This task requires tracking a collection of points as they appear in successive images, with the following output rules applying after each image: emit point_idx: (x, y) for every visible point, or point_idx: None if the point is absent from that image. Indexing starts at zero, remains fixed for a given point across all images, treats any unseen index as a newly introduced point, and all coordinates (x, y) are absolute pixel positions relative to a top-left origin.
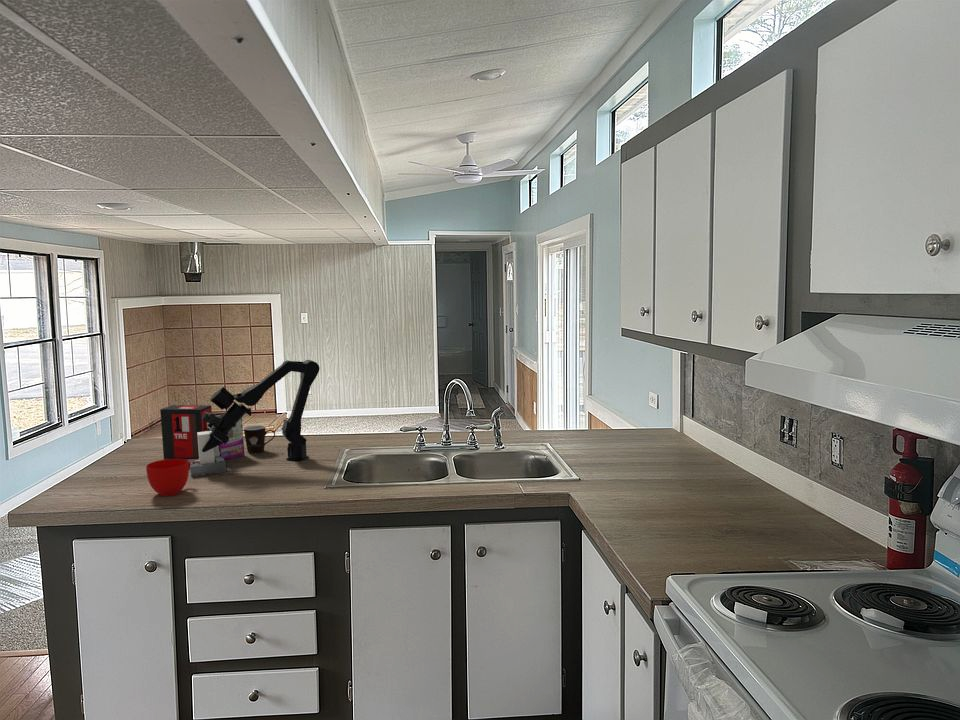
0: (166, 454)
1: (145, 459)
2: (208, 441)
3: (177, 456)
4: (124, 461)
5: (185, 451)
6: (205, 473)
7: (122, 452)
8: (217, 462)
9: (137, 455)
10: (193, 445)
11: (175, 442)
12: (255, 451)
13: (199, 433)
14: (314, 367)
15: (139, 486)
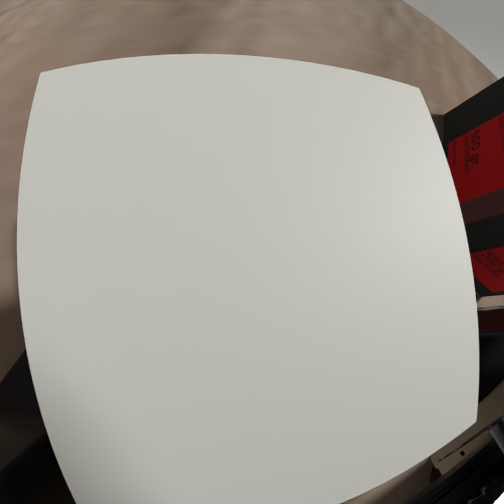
0: (455, 115)
1: (436, 73)
2: (17, 365)
3: (450, 150)
4: (416, 32)
5: (466, 172)
6: None
7: (476, 61)
8: None
9: (464, 73)
10: (488, 199)
11: (494, 123)
12: (437, 475)
13: (285, 102)
14: None
15: (53, 23)
